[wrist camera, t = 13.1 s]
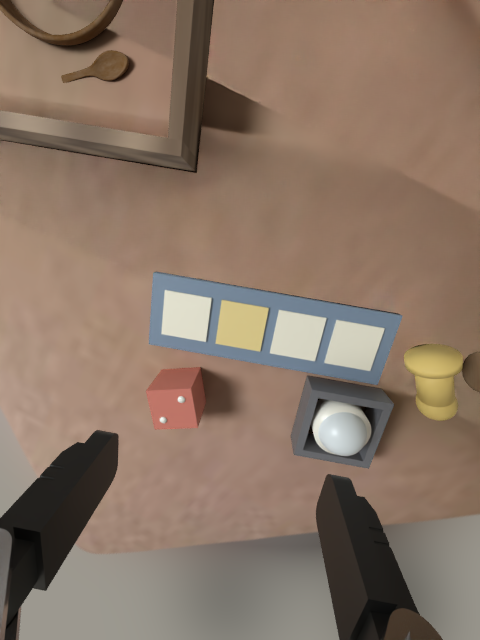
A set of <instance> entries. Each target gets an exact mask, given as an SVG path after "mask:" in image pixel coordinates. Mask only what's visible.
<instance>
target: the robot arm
mask: <svg viewBox="0 0 480 640" xmlns="http://www.w3.org/2000/svg"><path fill="white" fill-rule="evenodd" d="M117 466H118V434H116V433H111V432H106V431H100V430H97V431H95V432H94V433H93V434H92V435H91V436H90V438H89V439H88V440H87V441H86V442H85V443H79V442H77V443H75V444H74V445H72V446H71V447H69V448H68V449H66V450H64V451H63V452H62V453H61V454H60V455H59V456H58V457H57V458H56V459H55V460H54V461H53V462H52V463H51V464H50V467H48V468H47V469H46V470H45V471H44V472H43V473H42V474H41V475H40V478H37V479H36V481H35V482H34V483H33V484H32V485H31V486H30V487H29V488H28V489H27V490H26V491H25V492H24V493H23V495H22V496H21V497H20V498H19V499H18V500H17V501H16V502H15V503H14V504H13V505H12V506H11V508H9V510H8V511H7V512H6V513H5V514H4V515H3V516H2V517H1V518H0V640H19V630H20V617H21V605H22V603H23V602H24V600H25V599H26V597H27V596H28V594H29V593H30V591H31V590H32V588H35V589H40V590H45V591H46V590H47V588H48V586H49V584H50V583H51V581H52V580H53V578H54V577H55V575H56V573H57V572H58V570H59V568H60V567H61V565H62V563H63V562H64V560H65V558H66V557H67V555H68V554H69V552H70V550H71V549H72V547H73V545H74V544H75V542H76V541H77V539H78V537H79V536H80V534H81V532H82V531H83V529H84V527H85V526H86V524H87V522H88V521H89V519H90V518H91V516H92V514H93V513H94V511H95V509H96V508H97V506H98V504H99V503H100V501H101V500H102V498H103V496H104V495H105V493H106V491H107V490H108V488H109V486H110V485H111V483H112V481H113V479H114V477H115V474H116V471H117ZM316 521H317V527H318V532H319V537H320V542H321V547H322V553H323V558H324V563H325V568H326V573H327V577H328V583H329V588H330V593H331V598H332V603H333V609H334V614H335V619H336V624H337V629H338V634H339V639H340V640H443V639H442V638H441V636H440V635H439V634H438V632H437V631H436V630H435V629H434V628H433V627H432V625H431V624H430V623H429V622H427V621H426V620H425V619H424V618H423V617H421V616H420V614H419V612H418V611H417V608H416V606H415V604H414V601H413V599H412V597H411V595H410V592H409V590H408V587H407V585H406V582H405V580H404V578H403V575H402V573H401V571H400V568H399V566H398V563H397V561H396V559H395V556H394V554H393V552H392V549H391V548H390V547H389V542H388V540H387V537H386V535H385V533H383V528H382V525H381V523H380V521H379V518H378V516H377V514H376V512H375V510H374V509H373V508H372V507H371V505H370V504H369V503H368V501H367V500H366V499H365V497H360V496H357V495H356V492H355V489H354V487H353V484H352V481H351V480H350V479H349V478H347V477H341V476H336V475H331V474H328V475H327V476H326V478H325V482H324V485H323V488H322V491H321V494H320V497H319V500H318V503H317V508H316Z"/></svg>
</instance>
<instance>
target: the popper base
mask: <svg viewBox="0 0 480 640" xmlns="http://www.w3.org/2000/svg"><path fill="white" fill-rule="evenodd" d="M318 398H320V399H326V400H331V401H337V402H342V403H348V404H353V405H359V406H364V407H367V408H366V411H365V416H366V417H367V419H368V421H369V422H370V425H371V436H370V438H369V440H368V442H367V443H366V445H365V446H364V447H363V448H362V449H361V450H360V451H359V452H358V453H356V454H354V455H350V456H340V455H336V454H331V453H329V452H326V451H325V450H323V449H322V448H321V447H320V446H319V445H318V444H317V442H316V440H315V438H314V434H309V433H308V431H309V428H310V424H311V421H312V418H313V414H314V411H315V407H316V404H317V400H318ZM393 406H394V404H393V402H392V401H391V400H390V399H389V397H388V396H387V395H386V394H385V393H384V391H383V390H382V389H380V388H374V387H369V386H363V385H358V384H352V383H346V382H341V381H335V380H330V379H324V378H318V377H313V376H307V378H306V381H305V385H304V389H303V392H302V396H301V400H300V404H299V407H298V411H297V415H296V419H295V422H294V426H293V430H292V434H291V440H292V447H293V453H294V455H298V456H303V457H309V458H314V459H319V460H325V461H330V462H336V463H341V464H347V465H352V466H357V467H363V468H368V469H369V467H370V464H371V462H372V459H373V457H374V454H375V452H376V449H377V447H378V444H379V442H380V439H381V436H382V434H383V431H384V429H385V426H386V424H387V421H388V419H389V416H390V414H391V411H392V409H393Z"/></svg>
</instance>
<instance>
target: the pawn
mask: <svg viewBox="0 0 480 640" xmlns="http://www.w3.org/2000/svg"><path fill="white" fill-rule="evenodd" d="M404 362H405V367H406V369H407V370H408V371H409V372H411V373H412V374H414V375H415V382H416V389H417V395H416V405H417V407H418V409H419V410H420V412H421V413H422V414H423V415H425V416H426V417H428V418H430V419H433V420H438V421H443V420H448V419H450V418H452V417H453V416H454V415H455V414H456V412H457V410H458V402H457V399H456V397H455V391H454V376H455V375H457V374H458V373H460V372H461V370H462V368H463V357H462V355H461V353H460V352H459V351H458V350H456V349H454V348H452V347H449V346H446V345H441V344H423V345H418V346H415V347H412V348H410V349H409V350H407V351H406V353H405V354H404Z"/></svg>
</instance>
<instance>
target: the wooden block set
mask: <svg viewBox="0 0 480 640" xmlns="http://www.w3.org/2000/svg"><path fill="white" fill-rule="evenodd" d="M462 373H463V377H464V380H465V381H466V383H467V384H468V386H470V387H471V388H472V389H473V390H475V391H477V392H480V352H475V353H473V354H470V355H469V356H468V357H467V358H466V359H465V361H464V363H463V368H462Z"/></svg>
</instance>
